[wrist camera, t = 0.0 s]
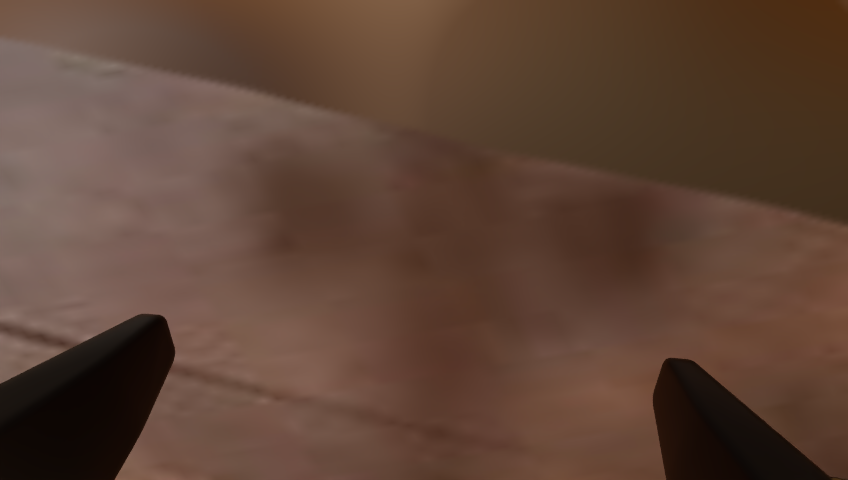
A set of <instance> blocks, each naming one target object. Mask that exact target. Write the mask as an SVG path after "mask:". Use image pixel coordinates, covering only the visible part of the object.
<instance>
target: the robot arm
mask: <svg viewBox="0 0 848 480" xmlns="http://www.w3.org/2000/svg"><path fill="white" fill-rule="evenodd" d="M174 357H175V347H174V344H173V341H172V337H171V334H170V330H169V327H168V324H167V321H166V319H165V318H164V317H163V316H161V315H153V314H139V315H137V316H135V317H133V318H131V319H129V320H127V321H125V322H123V323H121V324H119V325H117V326H115V327H113V328H111V329H109V330H107V331H105V332H103V333H101V334H99V335H97V336H95V337H93V338H91V339H89V340H87V341H85V342H83V343H81V344H79V345H77V346H75V347H73V348H71V349H69V350H67V351H65V352H63V353H61V354H59V355H57V356H55V357H53V358H51V359H49V360H47V361H45V362H43V363H41V364H39V365H37V366H35V367H33V368H31V369H29V370H27V371H25V372H23V373H21V374H19V375H17V376H15V377H13V378H11V379H9V380H7V381H5V382H3V383H1V384H0V480H115V478H116V476H117V474H118V473H119V471H120V469H121V468H122V466H123V464H124V462H125V461H126V459H127V457H128V455H129V454H130V452H131V450H132V448H133V447H134V445H135V443H136V441H137V439H138V438H139V436H140V434H141V432H142V430H143V428H144V426H145V424H146V421H147V419H148V417H149V415H150V413H151V410H152V408H153V406H154V404H155V401H156V399H157V397H158V395H159V393H160V390H161V388H162V386H163V384H164V381H165V379H166V377H167V375H168V372H169V370H170V368H171V366H172V364H173V361H174ZM653 407H654V413H655V419H656V424H657V430H658V436H659V441H660V447H661V452H662V458H663V464H664V469H665V475H666V480H833V479H832V478H831V477H829V476H828V475H827V474H826V473H825V472H824V471H822V470H821V469H820V468H819V467H818V466H817V465H815V464H814V463H813V462H812V461H811V460H809V459H808V458H807V457H806V456H805V455H804V454H802V453H801V452H800V451H799V450H798V449H797V448H795V447H794V446H793V445H792V444H791V443H789V442H788V441H787V440H786V439H785V438H784V437H782V436H781V435H780V434H779V433H778V432H776V431H775V430H774V429H773V428H772V427H771V426H769V425H768V424H767V423H766V422H765V421H764V420H762V419H761V418H760V417H759V416H758V415H756V414H755V413H754V412H753V411H752V410H751V409H749V408H748V407H747V406H746V405H745V404H744V403H742V402H741V401H740V400H739V399H738V398H736V397H735V396H734V395H733V394H732V393H731V392H729V391H728V390H727V389H726V388H725V387H724V386H722V385H721V384H720V383H719V382H718V381H716V380H715V379H714V378H713V377H712V376H711V375H709V374H708V373H707V372H706V371H705V370H703V369H702V368H701V367H700V366H699V365H698V364H696V363H695V362H694V361H692V360H689V359H678V358H668V359H666V360H665V361H664V363H663V365H662V368H661V371H660V374H659V377H658V380H657V383H656V386H655V389H654V393H653Z"/></svg>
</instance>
